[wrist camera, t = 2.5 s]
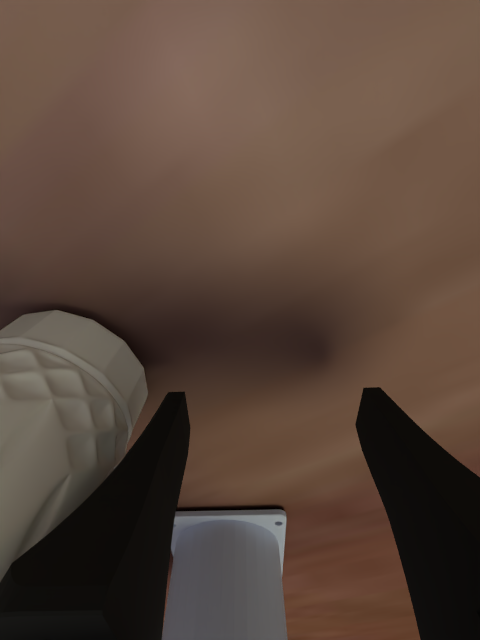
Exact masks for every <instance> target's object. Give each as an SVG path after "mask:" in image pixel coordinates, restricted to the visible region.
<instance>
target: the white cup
mask: <svg viewBox="0 0 480 640" xmlns="http://www.w3.org/2000/svg"><path fill="white" fill-rule="evenodd" d="M147 396H148V389H147V383H146V377H145V371H144V367H143V366H142V364H141V363H140V362H139V360H138V359H137V357H136V356H135V355H134V353H133V352H132V351H131V349H130V348H129V346H128V345H127V344H126V342H125V341H124V340H122V339H121V338H119V337H118V336H116V335H115V334H114V333H112V332H111V331H109V330H108V329H106V328H105V327H103V326H102V325H100V324H99V323H97V322H96V321H94V320H92V319H88V318H85V317H81V316H78V315H74V314H70V313H67V312H63V311H59V310H52V311H44V312H37V313H30V314H24V315H22V316H20V317H19V318H17V319H16V320H15V321H13V322H12V323H10V324H9V325H7V326H6V327H4V328H3V329H1V330H0V582H1V580H2V578H3V577H4V575H5V574H6V572H7V570H8V569H9V567H10V565H11V564H12V562H14V561H15V560H16V559H18V558H19V557H20V556H21V555H23V554H24V553H25V552H26V551H28V550H29V549H30V548H31V547H33V546H34V545H35V544H36V543H38V542H39V541H40V540H41V539H43V538H44V537H45V536H46V535H48V534H49V533H50V532H51V531H52V530H53V529H55V528H56V527H57V526H58V525H59V524H60V523H61V522H62V521H63V520H64V519H66V518H67V517H68V516H69V515H70V514H71V513H72V512H73V511H74V510H75V509H77V508H78V507H79V506H80V505H81V504H82V503H83V502H84V501H85V500H86V499H87V498H88V497H89V496H90V495H91V494H92V493H93V492H94V491H95V490H96V489H97V488H98V487H99V486H100V484H101V483H102V482H103V481H104V480H105V479H106V478H107V477H108V476H109V475H110V473H111V472H112V471H113V470H114V469H115V468H116V467H117V465H118V464H119V463H120V462H121V461H122V459H123V458H124V457H125V456H126V449H127V444H128V442H129V439H130V437H131V434H132V431H133V428H134V426H135V424H136V422H137V419H138V417H139V415H140V412H141V410H142V408H143V406H144V403H145V401H146V399H147Z"/></svg>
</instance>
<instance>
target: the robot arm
mask: <svg viewBox="0 0 480 640" xmlns="http://www.w3.org/2000/svg"><path fill="white" fill-rule="evenodd" d="M356 429H357V433H358V437H359V441H360V444H361V448H362V451H363V454H364V456H365V459H366V462H367V464H368V467H369V469H370V472H371V474H372V477H373V479H374V482H375V484H376V487H377V489H378V492H379V494H380V497H381V499H382V502H383V504H384V507H385V510H386V512H387V515H388V518H389V521H390V524H391V528H392V531H393V534H394V538H395V541H396V545H397V548H398V551H399V555H400V559H401V562H402V566H403V570H404V573H405V577H406V581H407V585H408V589H409V593H410V597H411V601H412V605H413V609H414V613H415V617H416V621H417V625H418V630H419V634H420V639H421V640H480V477H478V476H477V475H476V474H474V473H473V472H472V471H471V470H469V469H468V468H467V467H465V466H464V465H463V464H461V463H460V462H459V461H458V460H456V459H455V458H454V457H453V456H451V455H450V454H449V453H448V452H447V451H446V450H444V449H443V448H442V447H441V446H440V445H439V444H437V443H436V442H435V441H434V440H433V439H432V438H431V437H430V436H428V435H427V434H426V433H425V432H424V431H423V430H422V429H421V428H420V427H419V426H418V425H417V424H416V423H415V422H414V421H413V420H412V419H411V418H410V417H409V416H408V415H407V414H406V413H405V412H404V411H403V410H402V409H401V408H400V407H399V406H398V405H397V404H396V403H395V402H394V401H393V400H392V399H391V398H390V397H389V396H388V395H387V394H386V393H385V392H384V391H383V390H382V389H381V388H380V387H377V388H364V389H363V393H362V398H361V402H360V407H359V411H358V416H357V420H356ZM189 438H190V423H189V416H188V410H187V403H186V397H185V392H169V393H168V394H167V395H166V396H165V398H164V400H163V402H162V403H161V405H160V407H159V408H158V410H157V412H156V413H155V415H154V416H153V418H152V419H151V421H150V422H149V424H148V425H147V427H146V428H145V430H144V431H143V433H142V434H141V436H140V437H139V438H138V440H137V441H136V442H135V444H134V445H133V446H132V448H131V449H130V450H129V452H128V453H127V454H126V456H125V457H124V458H123V459H122V461H121V462H120V463H119V464H118V465H117V467H116V468H115V469H114V470H113V471H112V472H111V473H110V475H109V476H108V477H107V478H106V479H105V480H104V481H103V482H102V483H101V484H100V486H99V487H98V488H97V489H96V490H95V491H94V492H93V493H92V494H91V495H90V496H89V497H88V498H87V499H86V500H85V501H84V502H83V503H82V504H81V505H80V506H79V507H78V508H77V509H75V510H74V511H73V512H72V513H71V514H70V515H69V516H68V517H67V518H66V519H64V520H63V521H62V522H61V523H60V524H59V525H58V526H57V527H56V528H55V529H53V530H52V531H51V532H50V533H49V534H48V535H46V536H45V537H44V538H43V539H41V540H40V541H39V542H38V543H36V544H35V545H34V546H33V547H31V548H30V549H29V550H28V551H26V552H25V553H24V554H23V555H21V556H20V557H19V558H18V559H16V560H15V561H14V562H12V564H11V565H10V567H9V569H8V570H7V572H6V574H5V575H4V577H3V578H2V580H1V582H0V640H287V629H286V618H285V607H284V596H283V586H282V572H283V558H284V545H285V532H286V512H285V511H283V510H280V509H269V510H220V511H176V508H177V504H178V499H179V494H180V489H181V485H182V480H183V475H184V470H185V466H186V461H187V456H188V448H189ZM170 550H171V551H172V554H173V558H174V559H173V566H172V573H171V579H170V586H169V593H168V600H167V607H166V613H165V620H164V627H163V618H164V608H165V598H166V587H167V578H168V568H169V559H170ZM162 630H163V634H162Z"/></svg>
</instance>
